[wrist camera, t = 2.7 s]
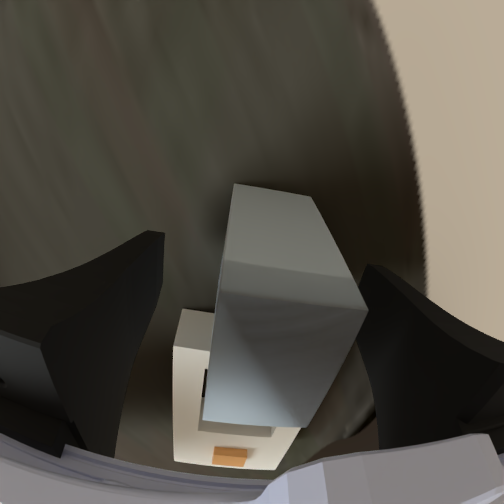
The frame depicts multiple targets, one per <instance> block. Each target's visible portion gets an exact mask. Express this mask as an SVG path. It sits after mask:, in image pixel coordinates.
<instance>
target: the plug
mask: <svg viewBox="0 0 504 504" xmlns="http://www.w3.org/2000/svg"><path fill="white" fill-rule="evenodd" d="M368 311H369V310H368V308H367V306H366V304H365V302H364V300H363V297H362V295H361V293H360V291H359V289H358V287H357V285H356V283H355V281H354V279H353V277H352V275H351V273H350V271H349V269H348V267H347V265H346V263H345V261H344V259H343V257H342V255H341V253H340V251H339V249H338V247H337V245H336V243H335V241H334V239H333V237H332V235H331V233H330V231H329V229H328V227H327V226H326V224H325V222H324V220H323V218H322V216H321V214H320V213H319V211H318V209H317V207H316V205H315V203H314V201H313V200H312V198H311V197H310V196H304V195H299V194H294V193H288V192H283V191H277V190H271V189H265V188H260V187H254V186H247V185H241V184H235V183H234V187H233V193H232V199H231V205H230V212H229V218H228V224H227V231H226V237H225V243H224V250H223V256H222V263H221V270H220V276H219V283H218V291H217V299H216V306H215V314H214V322H213V330H212V338H211V347H210V355H209V363H208V372H207V381H206V390H205V399H204V408H203V418H202V420H206V421H214V422H223V423H232V424H243V425H256V426H272V427H301V428H307V426H308V424H309V423H310V421H311V419H312V418H313V416H314V414H315V413H316V411H317V409H318V407H319V406H320V404H321V402H322V401H323V399H324V397H325V395H326V394H327V392H328V390H329V388H330V386H331V385H332V383H333V381H334V379H335V377H336V375H337V373H338V372H339V370H340V368H341V366H342V364H343V362H344V360H345V358H346V356H347V354H348V352H349V350H350V348H351V346H352V344H353V342H354V340H355V338H356V336H357V334H358V332H359V330H360V328H361V326H362V324H363V322H364V319H365V317H366V315H367V313H368Z"/></svg>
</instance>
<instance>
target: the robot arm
mask: <svg viewBox="0 0 504 504" xmlns="http://www.w3.org/2000/svg"><path fill="white" fill-rule="evenodd" d="M164 239H165V233H162V232H156V231H149V230H147V231H145V232H143V233H141V234H139V235H137V236H136V237H134V238H132V239H131V240H129V241H127V242H125V243H124V244H122V245H120V246H118V247H117V248H115V249H113V250H111V251H109V252H107V253H105V254H103V255H101V256H99V257H98V258H96V259H94V260H92V261H90V262H87V263H85V264H83V265H81V266H78V267H76V268H73V269H71V270H68V271H65V272H63V273H59V274H56V275H53V276H50V277H46V278H43V279H40V280H36V281H32V282H28V283H23V284H18V285H13V286H7V287H0V504H504V342H502V341H500V340H497V339H495V338H493V337H491V336H489V335H486V334H484V333H482V332H480V331H478V330H477V329H475V328H473V327H471V326H469V325H467V324H465V323H464V322H462V321H460V320H459V319H457V318H456V317H454V316H452V315H451V314H449V313H448V312H446V311H445V310H443V309H442V308H440V307H439V306H438V305H436V304H435V303H433V302H432V301H431V300H429V299H428V298H427V297H425V296H424V295H422V294H421V293H420V292H419V291H417V290H416V289H415V288H413V287H412V286H411V285H409V284H408V283H407V282H405V281H404V280H403V279H401V278H400V277H399V276H397V275H396V274H394V273H393V272H391V271H390V270H388V269H386V268H385V267H383V266H379V265H372V264H367V266H366V268H365V271H364V273H363V276H362V279H361V281H360V284H359V286H358V289H359V291H360V293H361V295H362V297H363V300H364V302H365V304H366V306H367V308H368V310H369V311H368V313H367V315H366V317H365V319H364V322H363V324H362V326H361V328H360V330H359V332H358V334H357V336H356V340H357V343H358V346H359V349H360V352H361V355H362V358H363V361H364V364H365V367H366V370H367V373H368V376H369V380H370V383H371V387H372V392H373V397H374V403H375V409H376V417H377V425H378V436H379V450H376V451H368V452H356V453H351V454H345V455H339V456H333V457H326V458H321V459H319V460H315V461H313V462H309V463H306V464H303V465H300V466H296V467H293V468H291V469H289V470H288V471H286V472H285V473H283V474H282V475H280V476H279V477H277V478H276V479H274V480H260V479H240V478H226V477H215V476H206V475H198V474H190V473H183V472H177V471H171V470H165V469H159V468H154V467H149V466H144V465H139V464H135V463H130V462H126V461H122V460H118V459H114V455H115V448H116V441H117V435H118V429H119V423H120V418H121V412H122V408H123V403H124V398H125V394H126V389H127V385H128V381H129V377H130V373H131V369H132V366H133V363H134V360H135V357H136V354H137V351H138V349H139V347H140V344H141V342H142V339H143V337H144V334H145V332H146V330H147V327H148V325H149V322H150V320H151V318H152V315H153V313H154V310H155V308H156V305H157V302H158V298H159V295H160V291H161V287H162V283H163V258H164Z"/></svg>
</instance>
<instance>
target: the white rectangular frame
mask: <svg viewBox="0 0 504 504" xmlns="http://www.w3.org/2000/svg"><path fill="white" fill-rule="evenodd" d="M214 314H215V313H209V312H202V311H195V310H189V309H182V313H181V316H180V320H179V324H178V328H177V332H176V336H175V341H174V345H173V443H174V461H179V462H185V463H192V464H200V465H208V466H217V467H228V468H241V469H260V470H275V469H276V467H277V466H278V464H279V463H280V461H281V459H282V458H283V456H284V455H285V453H286V452H287V450H288V448H289V447H290V445H291V444H292V442H293V440H294V439H295V437H296V435H297V434H298V432H299V430H300V429H301V427H272V426H256V425H243V424H232V423H223V422H214V421H206V420H202V418H203V408H204V399H205V397H202V389H203V380H204V372H205V369H208V363H209V355H210V347H211V338H212V330H213V322H214Z"/></svg>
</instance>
